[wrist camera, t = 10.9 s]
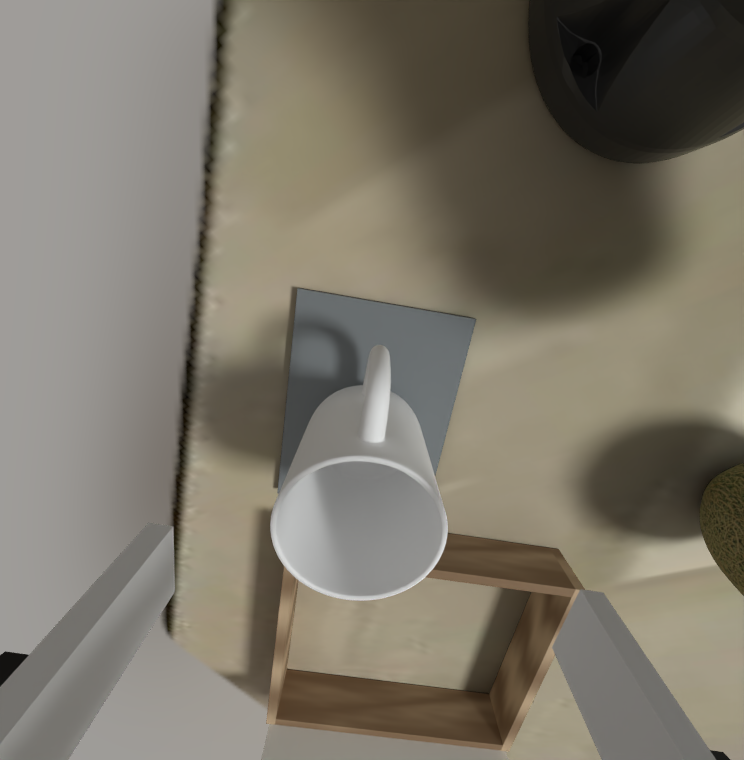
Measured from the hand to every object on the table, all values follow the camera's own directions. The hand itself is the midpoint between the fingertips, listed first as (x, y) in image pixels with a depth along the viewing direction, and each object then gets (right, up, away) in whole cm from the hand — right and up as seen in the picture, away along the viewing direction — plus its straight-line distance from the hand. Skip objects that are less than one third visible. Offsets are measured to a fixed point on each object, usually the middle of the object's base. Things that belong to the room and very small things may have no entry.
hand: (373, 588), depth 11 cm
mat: (0, +4, +14) cm, 15 cm away
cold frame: (+3, -15, +21) cm, 26 cm away
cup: (0, +5, +14) cm, 15 cm away
